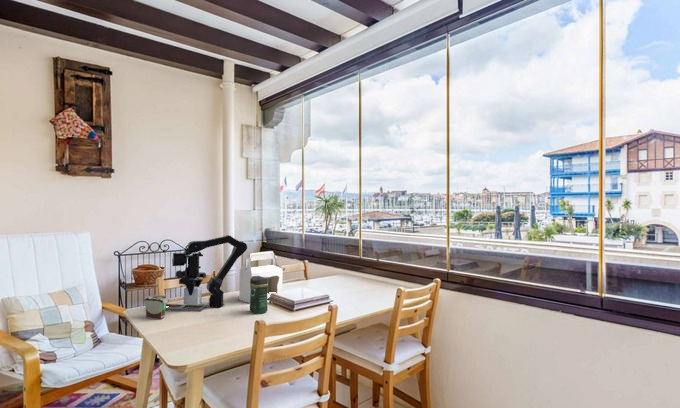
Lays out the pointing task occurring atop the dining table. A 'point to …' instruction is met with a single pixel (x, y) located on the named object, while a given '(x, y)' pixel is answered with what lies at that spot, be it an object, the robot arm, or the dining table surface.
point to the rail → (182, 307)
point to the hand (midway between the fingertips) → (192, 294)
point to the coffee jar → (258, 294)
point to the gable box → (260, 274)
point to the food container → (155, 306)
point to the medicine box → (193, 296)
